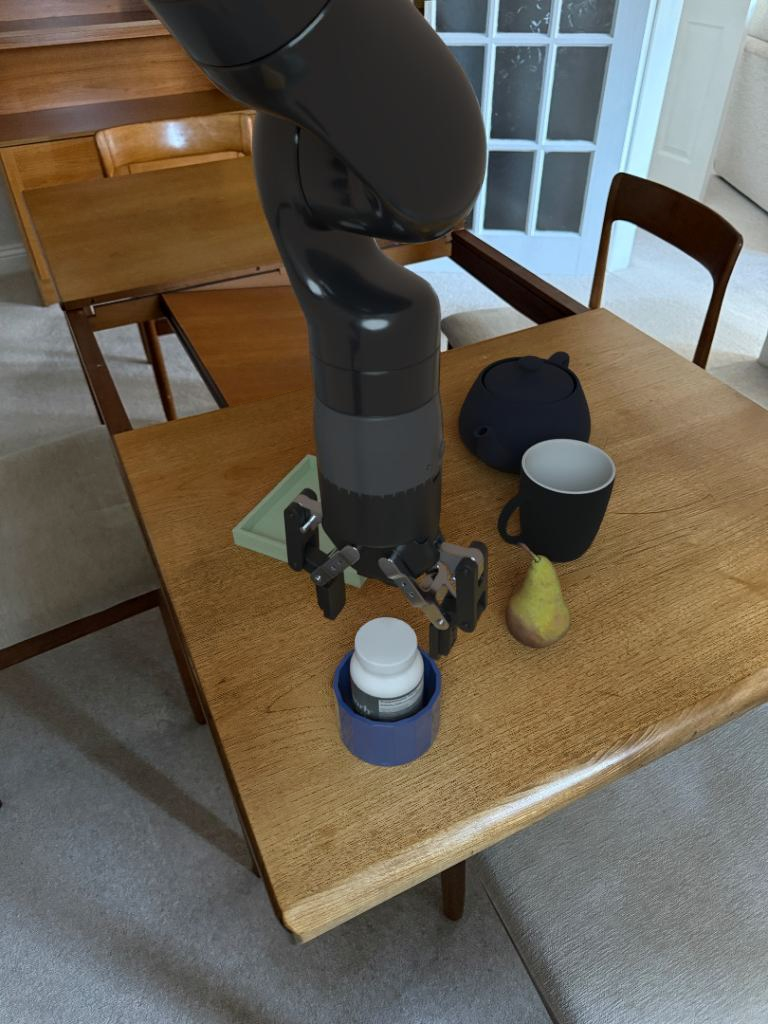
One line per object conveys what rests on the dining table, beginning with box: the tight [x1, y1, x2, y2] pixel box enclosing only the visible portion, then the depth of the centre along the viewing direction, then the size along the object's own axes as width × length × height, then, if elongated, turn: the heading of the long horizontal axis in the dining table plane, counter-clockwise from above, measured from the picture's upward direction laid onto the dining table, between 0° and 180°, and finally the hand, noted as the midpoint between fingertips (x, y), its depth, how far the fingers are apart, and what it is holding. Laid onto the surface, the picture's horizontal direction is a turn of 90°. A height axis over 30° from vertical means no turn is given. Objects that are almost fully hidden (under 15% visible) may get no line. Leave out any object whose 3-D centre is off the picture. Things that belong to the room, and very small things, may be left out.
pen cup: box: [332, 644, 442, 768], centre depth 60 cm, size 8×8×6 cm
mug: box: [496, 439, 617, 563], centre depth 74 cm, size 12×9×10 cm
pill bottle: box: [350, 616, 424, 722], centre depth 58 cm, size 6×6×10 cm
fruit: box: [505, 542, 572, 649], centre depth 64 cm, size 6×6×12 cm
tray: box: [231, 453, 368, 589], centre depth 80 cm, size 15×15×2 cm
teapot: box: [457, 350, 592, 476], centre depth 86 cm, size 25×16×12 cm, turn 148°
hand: (386, 631), depth 54 cm, fingers open, 8 cm apart
